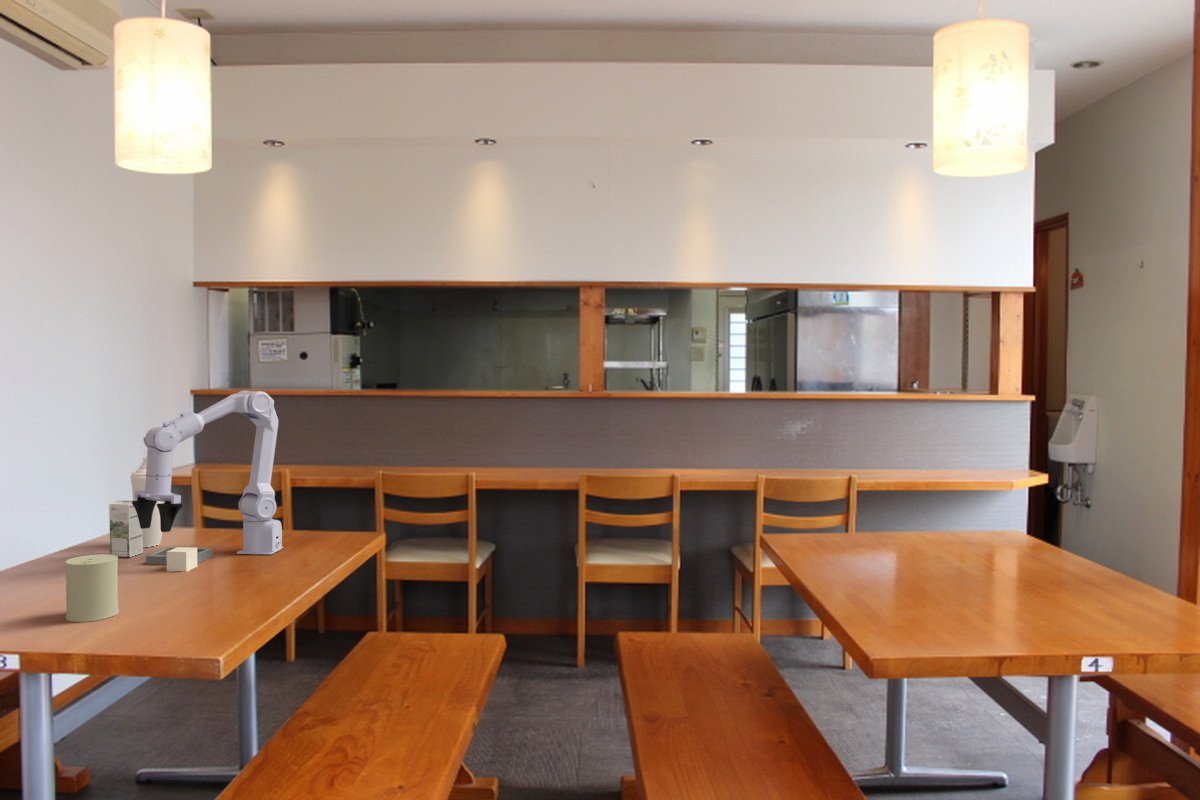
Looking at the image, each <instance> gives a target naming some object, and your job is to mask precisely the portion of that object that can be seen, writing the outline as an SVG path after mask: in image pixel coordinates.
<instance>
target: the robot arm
mask: <svg viewBox="0 0 1200 800" xmlns="http://www.w3.org/2000/svg"><path fill="white" fill-rule="evenodd" d="M274 405H275V400H274V399H273V398H272V397H271V396H270V395H269V394H268V393H266V392H265V391H263V390H262V391H260V390H259V391H258V390H257V391H254V390H253V391H251V390H240V391H238V392H236V393H231V394H230V395H228V396H227V397H225V398H223V399H222V400H220V401H217V402H216V403H214V404H213V405H210V406H209V407H207V408H205V409H204V410H203V409H202V410H201V411H200V412H198V413H195V412H192V411H189V412H187V411H185V412H182V413H180V414H179V415H180V416H178V417H176V418H174V419H172V420H171V421H165V422H163V423H162V426H161V427H160V426H155V427H152V428H150V429H149V430H148V431H147V432H146V434H145V436H144V437H143V443H144V445H145V447H146V448H147V453H146V458H147V464H146V480H145V491H144V490H138V491H135V497H134V498H136V499H137V500H136V501H133V500H131V501H132V504H133V506H134V508H135V510H136V512H137V515H138V519H139V523H140V528H141V529H145V528H150V525H151V520H152V513H153V510H154V507H155V504H156V502H157V501H161V502H164V503H160V504H157V507H158V510H159V513H160V528H161V532H163V533H170V532H171V530H172V527H173V525H174V522H175V519H176V518H177V517H176V516H177V515H178V513H179V511H180V510H181V508H183V503H181V501H182V495H180V494H176V493H173V492H172V478H173V476H172V475H173V459H174V450H175V449H176V448H177V446H178V444H179V443H182V442H184V441H185V440H187V439H189V438H192V437H193V436H196V435H197V434H199V433H202V431H203V429H204V426H205V425H206V424H209V423H210V422H213V421H215V420H218V419H221V418H222V417H224V416H227V415H229V414H230V413H239V414H241V415H243V416H245V417H247V418H248V419H249V420H250V421H251V422H252V423H253V424H254V425H255V426H256V429H255V436H254V437H255V438H254V444H253V451H252V452H253V453H252V459H251V467H250V473H249V474H250V475H249V483H248V484H247V485H246V486H245V488H243V494H242V497H240V499H239V501H238V510H239V512H240V513H241V514H242V518H243V519H242V520H243V523H242V524H243V526H242V527H243V528H242V530H243V533H242V537H243V538H242V540H243V542H242V543H243V546H242V547H243V548H242V549H241V550H239V551H237V552H236V555H237V554H238V555H272V554H275V553H276V552H278V551H281V550H283V549H284V547H283V527H282V526H283V525H282V522H281V521H280V520H278V519H273V516H274V515H275V514H276V512H277V502H276V498H275V496H276V492H275V491H274V488H273V487H272V485H271V484H272V476H273V475H272V474H273V470H274V469H273V467H274V460H275V452H276V446H277V436H278V429H279V418H278V416H277V415H278V414H277V413H276V409H275V406H274ZM158 498H160V499H158ZM282 548H283V549H282Z"/></svg>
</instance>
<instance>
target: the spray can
mask: <svg viewBox="0 0 1200 800" xmlns="http://www.w3.org/2000/svg"><path fill="white" fill-rule="evenodd" d="M146 464H147V457H143V458H142V462H141V465H139V467H138V468H137V469H136V471H133V472H131V473H130V477H129V478H130V482H131V490H132V501H136V500H137V499H136V498H134V497H135V491H138V490H144V491H145V480H146ZM158 499H160V498H158ZM160 503H165V502H161V501H157V502H156V504H155V507H154V510H153V513H152V520H151V525H150V528H145V529H142V541H143V547H148V548H152V547H151V546H154V547H157V546H156V545H158V546H159V544H160V545H161V542H162V537H163V533H164V532H161V528H160V513H159V510H158V507H157V504H160Z"/></svg>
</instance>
